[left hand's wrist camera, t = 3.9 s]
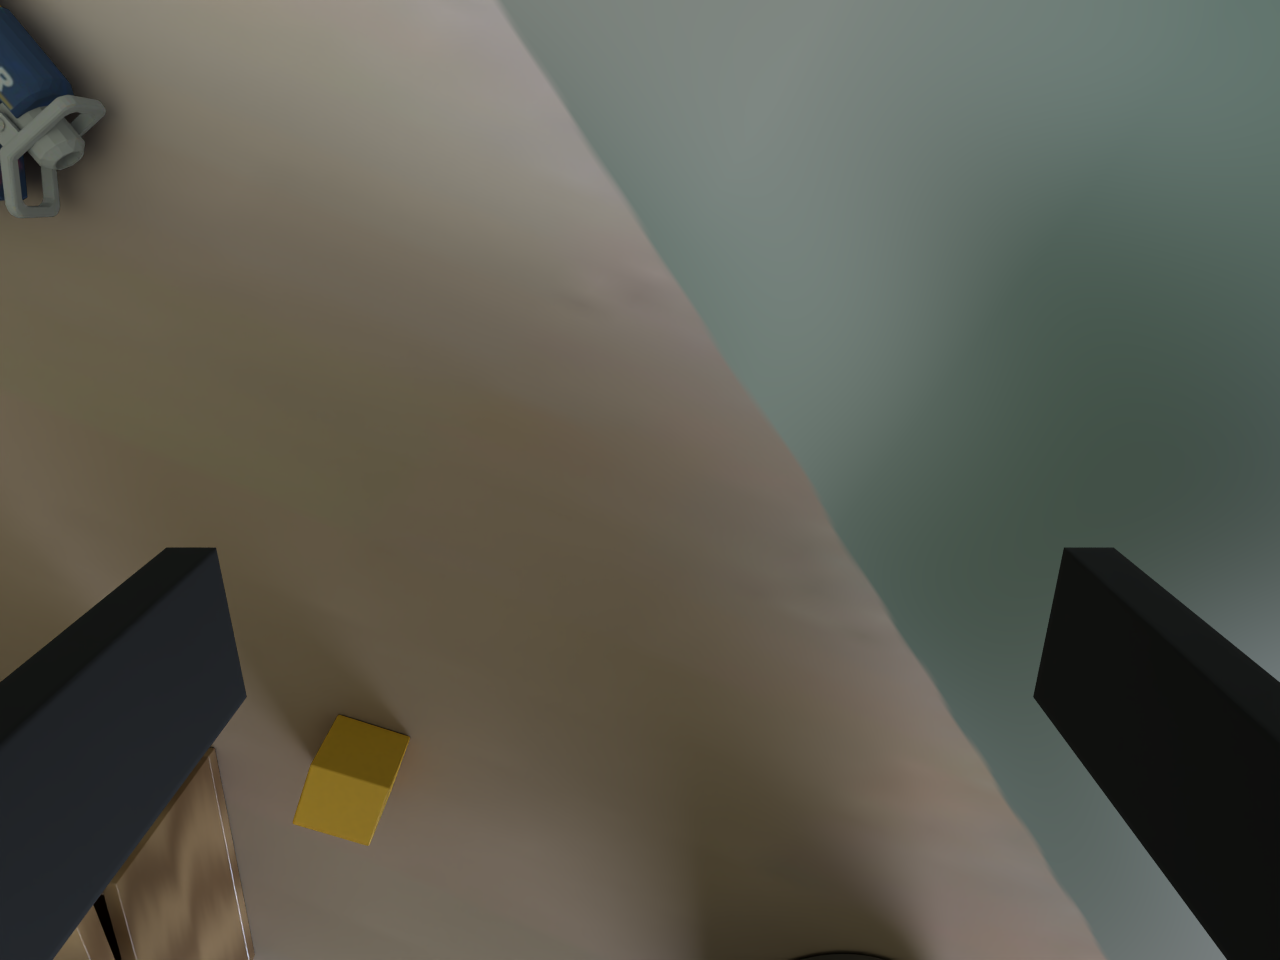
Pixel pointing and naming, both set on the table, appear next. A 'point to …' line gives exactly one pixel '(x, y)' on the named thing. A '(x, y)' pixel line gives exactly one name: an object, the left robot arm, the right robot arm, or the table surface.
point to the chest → (181, 882)
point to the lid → (87, 941)
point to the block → (351, 780)
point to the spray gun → (36, 119)
